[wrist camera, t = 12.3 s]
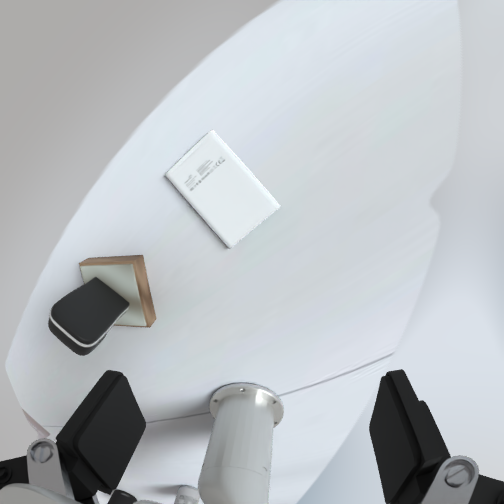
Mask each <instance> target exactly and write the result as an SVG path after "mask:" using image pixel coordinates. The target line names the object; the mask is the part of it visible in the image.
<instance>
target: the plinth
mask: <svg viewBox="0 0 504 504" xmlns="http://www.w3.org/2000/svg"><path fill="white" fill-rule="evenodd" d="M79 265H80V269H81V274H82V278H83V282H84V284H86V283H87V282H89V281H90V280H91V279H93V278H94V277H97V278H98V279H100V280H101V281H102V282H104V283H105V284H106V285H108V286H109V287H110V288H111V289H113V290H114V291H115V292H117V293H118V294H119V295H120V296H122V297H123V298H124V299H125V300H127V301H128V302H129V303H130V305H129V308H128V310H127V311H126V313H125V314H124V315H122V317H120V318H119V319H118V320H117V321H116V322H115V324H114V325H116V326H132V327H151V325H152V324H153V323H154V321H155V320H156V315H155V311H154V307H153V302H152V298H151V293H150V288H149V284H148V279H147V274H146V269H145V263H144V258H143V255H133V256H115V257H98V258H88V259H86V260H84V261H82V262H81V263H79Z"/></svg>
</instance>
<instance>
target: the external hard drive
mask: <svg viewBox="0 0 504 504" xmlns="http://www.w3.org/2000/svg"><path fill="white" fill-rule="evenodd" d="M165 175H166V177H167V178H168V179H169V180H170V181H171V182H172V184H173V185H174V186H175V187H176V188H177V189H178V191H179V192H180V193H181V194H182V195H183V196H184V198H185V199H186V200H187V201H188V202H189V203H190V204H191V206H192V207H193V208H194V209H195V210H196V211H197V212H198V214H199V215H200V216H201V217H202V218H203V219H204V220H205V222H206V223H207V224H208V225H209V226H210V227H211V228H212V230H213V231H214V232H215V233H216V234H217V235H218V236H219V237H220V238H221V240H222V241H223V242H224V243H225V244H226V245H227V246H228V248H232V247H233V246H234V245H235V244H236V243H238V242H239V241H240V240H241V239H242V238H244V237H245V236H246V235H247V234H248V233H250V232H251V231H252V230H253V229H254V228H256V227H257V226H258V225H259V224H260V223H262V222H263V221H264V220H265V219H267V218H268V217H269V216H270V215H271V214H273V213H274V212H275V211H276V210H277V209H279V208H280V204H279V203H278V202H277V201H276V200H275V199H274V197H273V196H272V195H271V194H270V193H269V192H268V190H267V189H266V188H265V187H264V186H263V185H262V184H261V182H260V181H259V180H258V179H257V178H256V177H255V176H254V174H253V173H252V172H251V171H250V170H249V169H248V168H247V167H246V165H245V164H244V163H243V162H242V161H241V160H240V159H239V158H238V156H237V155H236V154H235V153H234V152H233V151H232V150H231V149H230V148H229V147H228V145H227V144H226V143H225V142H224V141H223V140H222V139H221V138H220V137H219V136H218V135H217V133H216V132H215V131H214V130H211V131H210V132H208V133H207V134H206V135H205V136H204V137H203V138H202V139H201V140H200V141H199V142H198V143H197V144H196V145H195V146H193V147H192V148H191V149H190V150H189V151H188V152H187V153H186V154H185V155H184V156H183V157H182V158H181V159H180V160H179V161H178V162H177V163H176V164H175V165H174V166H173V167H172V168H171V169H170V170H169V171H168V172H167V173H166V174H165Z"/></svg>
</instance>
